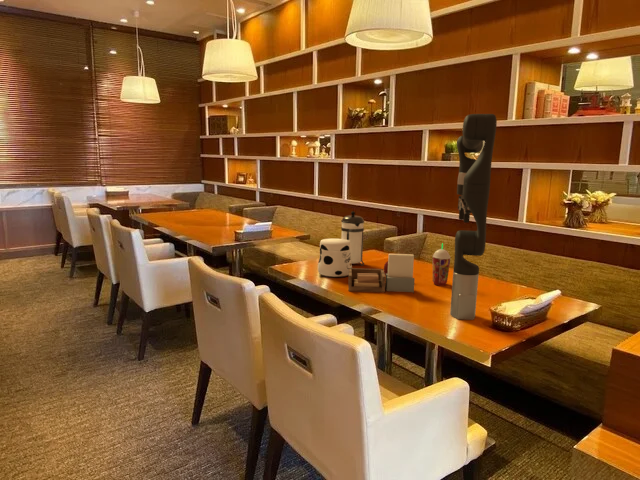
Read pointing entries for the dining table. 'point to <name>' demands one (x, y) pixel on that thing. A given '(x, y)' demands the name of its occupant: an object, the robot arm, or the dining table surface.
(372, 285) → the offcut large
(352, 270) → the box
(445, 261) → the smoothie
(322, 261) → the milk container
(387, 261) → the apple
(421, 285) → the dining table surface
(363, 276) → the offcut small
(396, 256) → the cream rectangular board
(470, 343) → the dining table surface
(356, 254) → the coffee press
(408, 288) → the holder
